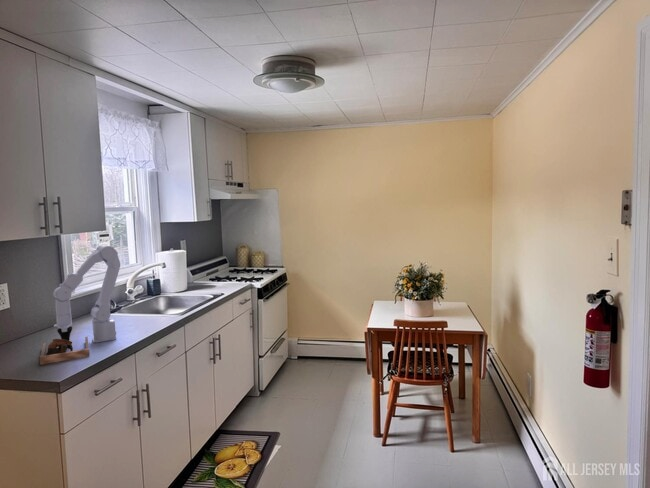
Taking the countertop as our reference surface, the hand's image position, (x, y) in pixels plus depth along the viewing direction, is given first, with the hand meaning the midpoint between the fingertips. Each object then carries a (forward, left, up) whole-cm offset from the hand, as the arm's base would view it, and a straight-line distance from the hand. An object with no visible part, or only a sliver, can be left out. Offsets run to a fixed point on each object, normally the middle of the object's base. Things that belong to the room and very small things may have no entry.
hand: (66, 344), depth 192 cm
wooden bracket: (0, +8, -1) cm, 8 cm away
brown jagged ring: (+2, +12, -2) cm, 12 cm away
